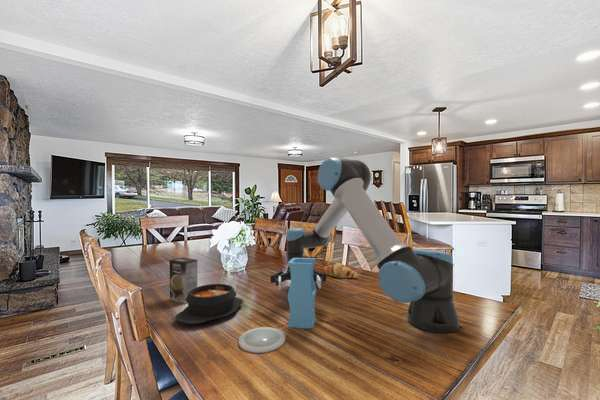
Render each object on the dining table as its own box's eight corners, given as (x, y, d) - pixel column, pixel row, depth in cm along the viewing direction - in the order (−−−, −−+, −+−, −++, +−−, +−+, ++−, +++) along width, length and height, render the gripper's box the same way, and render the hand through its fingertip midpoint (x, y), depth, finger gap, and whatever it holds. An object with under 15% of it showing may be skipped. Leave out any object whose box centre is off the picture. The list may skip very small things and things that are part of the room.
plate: (294, 343, 79) (293, 340, 79) (250, 358, 71) (250, 354, 71) (271, 325, 90) (271, 323, 90) (231, 337, 82) (231, 334, 82)
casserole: (218, 298, 115) (218, 277, 115) (255, 306, 106) (255, 284, 106) (162, 322, 93) (161, 296, 93) (201, 335, 84) (201, 306, 84)
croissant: (360, 284, 143) (363, 269, 146) (353, 279, 135) (356, 263, 138) (323, 277, 154) (326, 263, 157) (315, 272, 147) (318, 257, 150)
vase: (312, 328, 87) (312, 263, 87) (287, 326, 89) (287, 262, 89) (316, 318, 95) (316, 258, 95) (293, 316, 97) (293, 257, 96)
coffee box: (169, 300, 112) (168, 259, 112) (182, 295, 118) (182, 256, 118) (185, 304, 108) (184, 262, 108) (198, 299, 114) (197, 258, 114)
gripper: (326, 277, 118) (336, 295, 97) (266, 279, 116) (262, 297, 95) (326, 259, 118) (336, 272, 97) (265, 260, 116) (262, 274, 95)
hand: (300, 285), depth 96 cm, fingers open, 13 cm apart
